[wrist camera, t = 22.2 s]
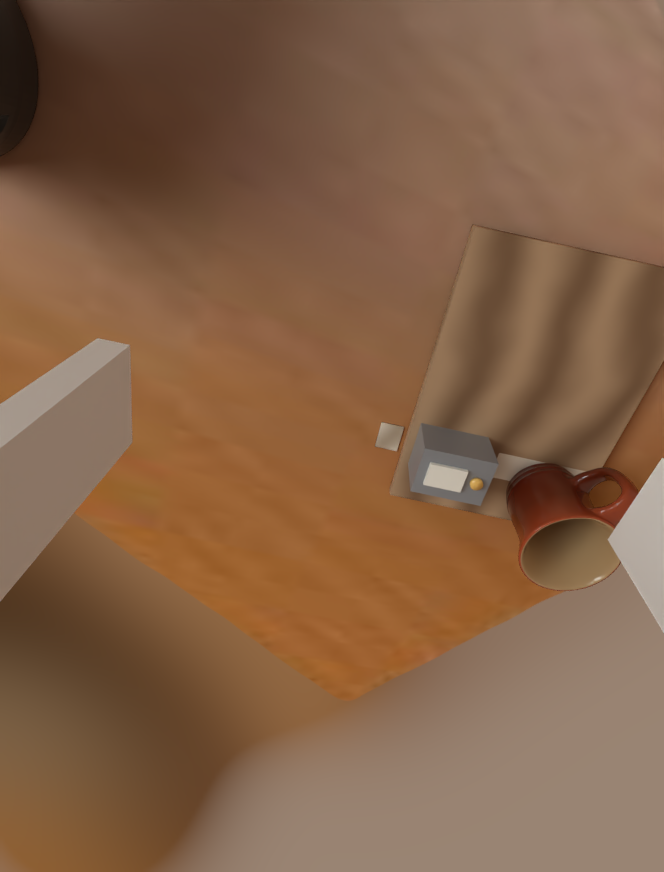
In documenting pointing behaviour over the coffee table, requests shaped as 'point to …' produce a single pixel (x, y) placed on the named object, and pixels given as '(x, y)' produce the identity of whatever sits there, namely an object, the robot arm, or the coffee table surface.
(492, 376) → the board
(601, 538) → the mug
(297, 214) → the coffee table surface
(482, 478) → the block
